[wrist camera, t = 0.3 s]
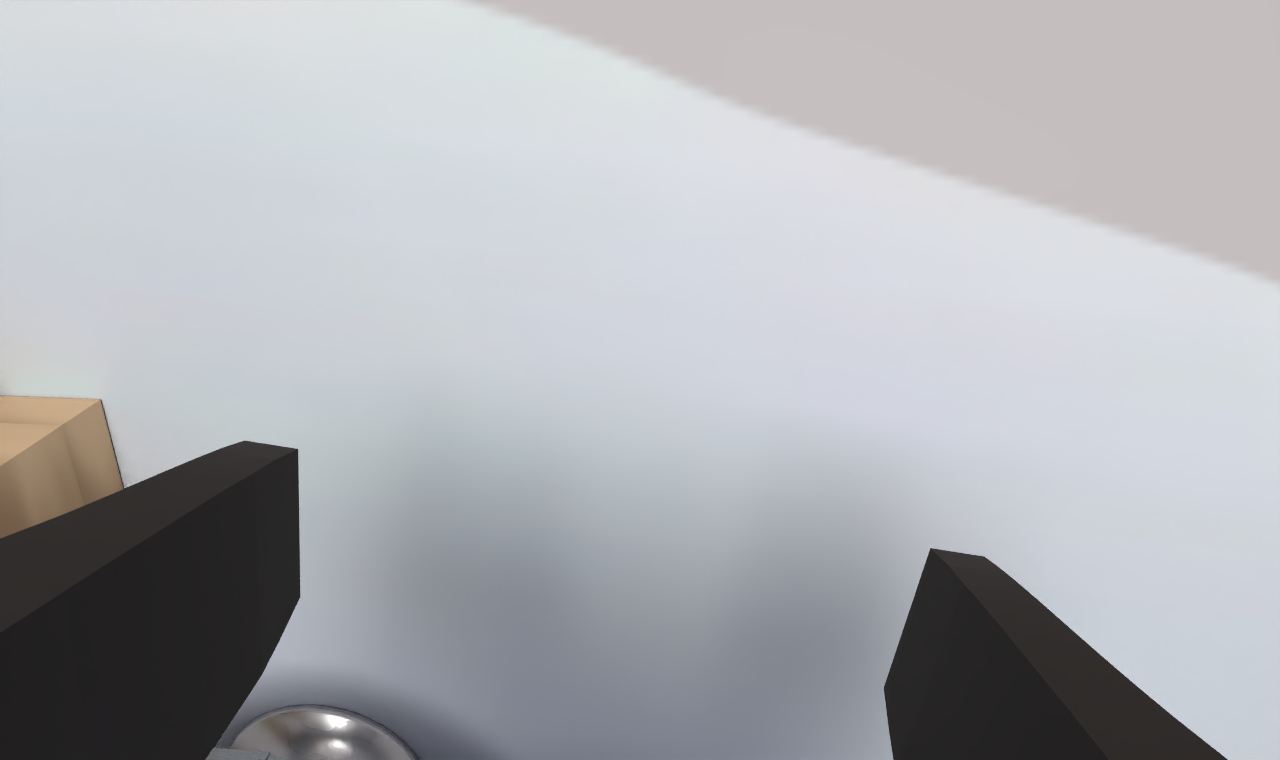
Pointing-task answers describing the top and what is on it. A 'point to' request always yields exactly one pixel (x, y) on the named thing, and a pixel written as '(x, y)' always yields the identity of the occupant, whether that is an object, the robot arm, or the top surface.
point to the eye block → (52, 459)
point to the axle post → (321, 735)
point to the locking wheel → (242, 755)
